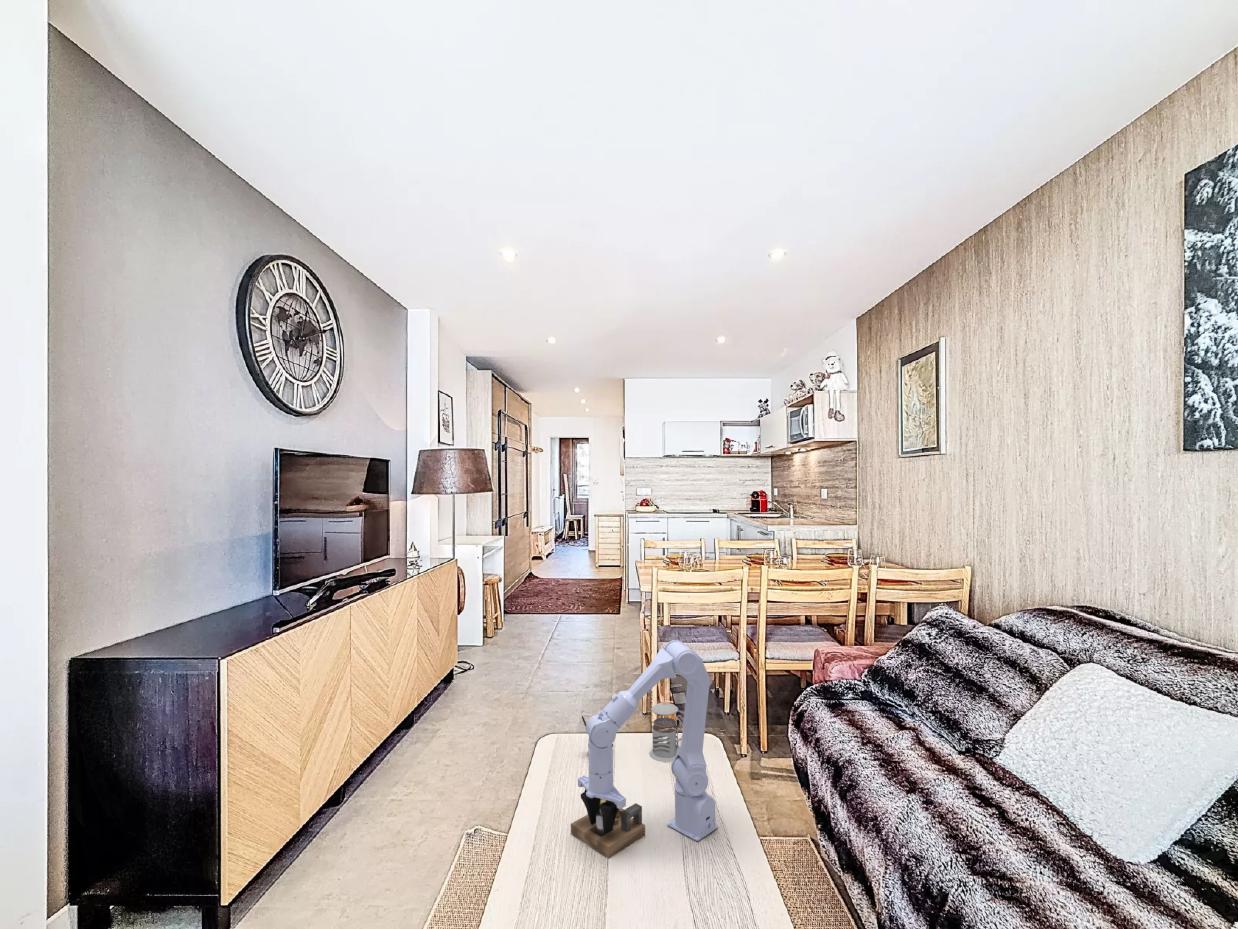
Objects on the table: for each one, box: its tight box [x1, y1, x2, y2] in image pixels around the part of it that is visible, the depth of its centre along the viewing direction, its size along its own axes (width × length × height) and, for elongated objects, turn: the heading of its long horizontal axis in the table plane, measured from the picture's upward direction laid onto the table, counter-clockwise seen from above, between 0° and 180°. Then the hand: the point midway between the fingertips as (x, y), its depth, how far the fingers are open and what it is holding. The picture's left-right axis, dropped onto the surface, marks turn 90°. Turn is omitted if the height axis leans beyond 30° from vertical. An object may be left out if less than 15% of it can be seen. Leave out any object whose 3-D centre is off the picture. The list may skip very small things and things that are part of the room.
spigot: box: [596, 811, 607, 837], centre depth 147 cm, size 3×3×6 cm
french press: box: [648, 678, 684, 763], centre depth 188 cm, size 10×12×25 cm
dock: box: [570, 803, 646, 859], centre depth 148 cm, size 13×12×6 cm
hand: (601, 826), depth 146 cm, fingers open, 4 cm apart
